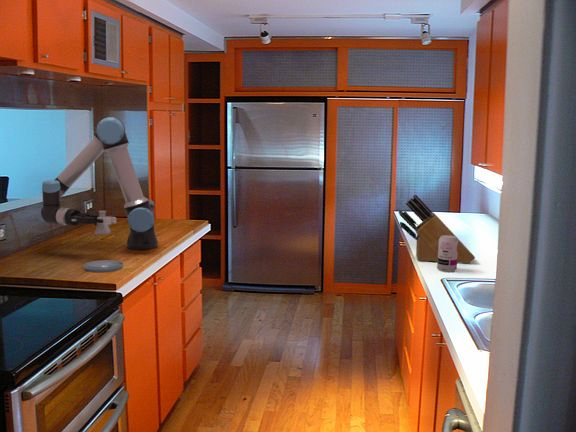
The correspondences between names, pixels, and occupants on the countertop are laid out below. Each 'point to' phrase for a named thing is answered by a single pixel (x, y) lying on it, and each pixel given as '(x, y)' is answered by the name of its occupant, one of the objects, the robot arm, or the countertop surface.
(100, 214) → the flask
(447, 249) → the supplement can
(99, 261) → the dish
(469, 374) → the countertop surface
